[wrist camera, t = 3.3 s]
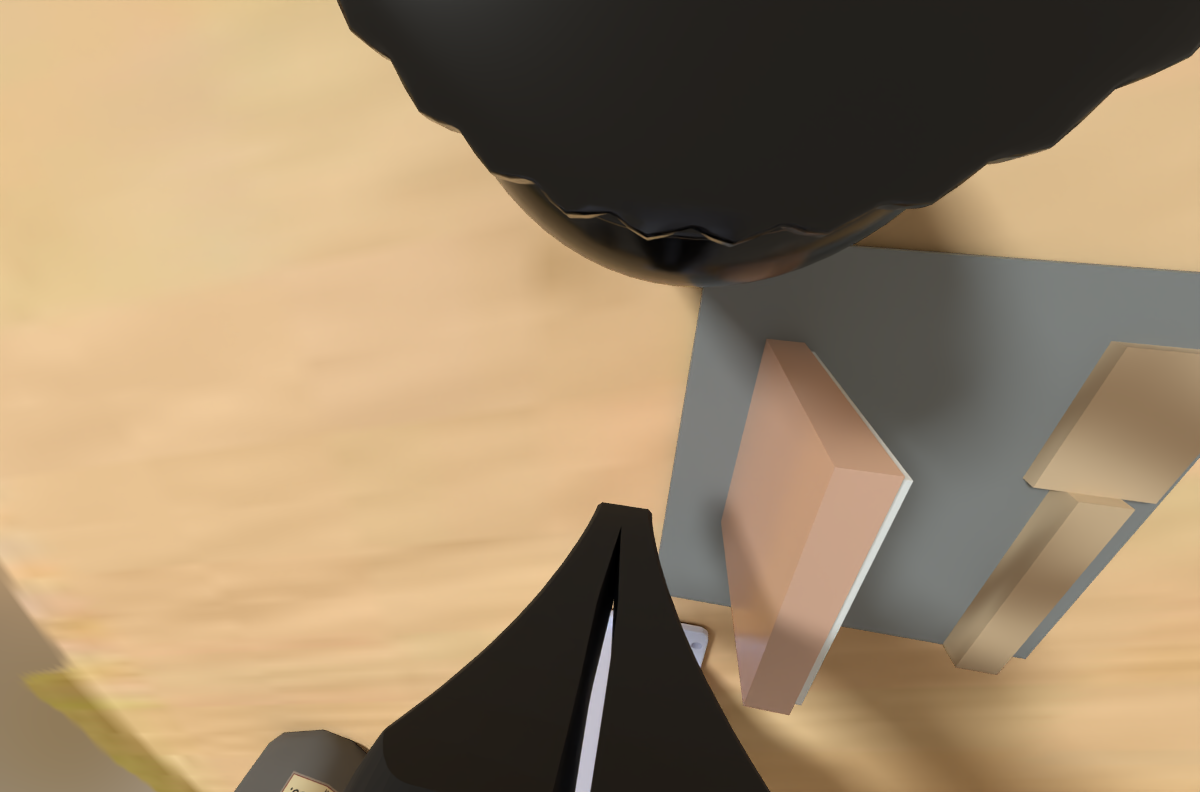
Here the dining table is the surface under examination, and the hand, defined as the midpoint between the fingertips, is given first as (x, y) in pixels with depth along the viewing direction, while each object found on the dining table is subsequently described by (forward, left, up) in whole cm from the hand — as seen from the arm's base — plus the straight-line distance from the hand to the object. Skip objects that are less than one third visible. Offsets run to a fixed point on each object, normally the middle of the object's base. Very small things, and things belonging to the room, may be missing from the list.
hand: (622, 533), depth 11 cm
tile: (0, -4, -6) cm, 7 cm away
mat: (-1, -9, -6) cm, 11 cm away
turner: (-2, -15, -6) cm, 16 cm away
